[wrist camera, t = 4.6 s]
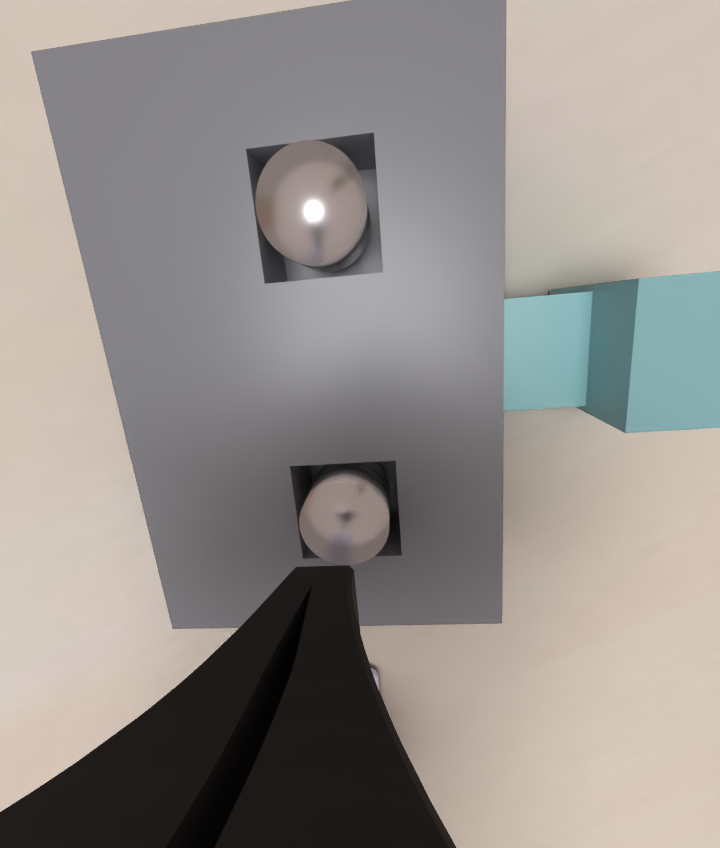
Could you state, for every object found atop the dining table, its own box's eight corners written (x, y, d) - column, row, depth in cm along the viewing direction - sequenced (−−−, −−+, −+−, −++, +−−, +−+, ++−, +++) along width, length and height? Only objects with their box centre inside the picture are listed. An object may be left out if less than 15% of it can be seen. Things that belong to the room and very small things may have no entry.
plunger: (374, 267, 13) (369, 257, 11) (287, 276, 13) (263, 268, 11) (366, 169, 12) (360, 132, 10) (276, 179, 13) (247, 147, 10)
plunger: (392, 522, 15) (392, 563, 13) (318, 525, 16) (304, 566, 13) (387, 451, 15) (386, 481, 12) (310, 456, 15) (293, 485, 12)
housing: (473, 541, 19) (502, 623, 14) (226, 550, 20) (172, 628, 15) (466, 90, 14) (506, -25, 10) (146, 134, 16) (30, 51, 11)
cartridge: (622, 386, 17) (744, 425, 11) (263, 410, 18) (204, 456, 12) (630, 282, 16) (771, 266, 10) (249, 316, 17) (177, 319, 11)
